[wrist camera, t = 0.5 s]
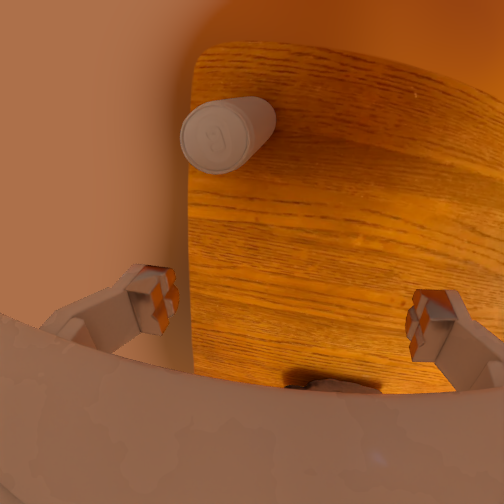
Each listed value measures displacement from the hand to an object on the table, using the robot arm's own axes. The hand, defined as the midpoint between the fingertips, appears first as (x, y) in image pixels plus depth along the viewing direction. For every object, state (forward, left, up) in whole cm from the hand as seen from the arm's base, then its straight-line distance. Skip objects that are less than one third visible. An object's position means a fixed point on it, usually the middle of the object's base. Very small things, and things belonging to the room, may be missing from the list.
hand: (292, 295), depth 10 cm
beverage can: (-3, -6, -22) cm, 23 cm away
